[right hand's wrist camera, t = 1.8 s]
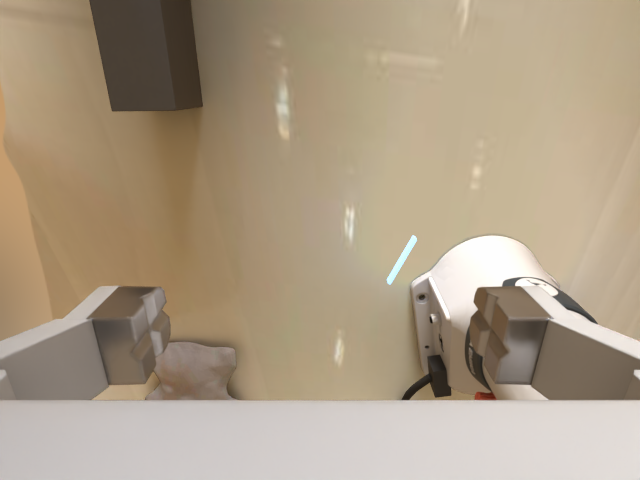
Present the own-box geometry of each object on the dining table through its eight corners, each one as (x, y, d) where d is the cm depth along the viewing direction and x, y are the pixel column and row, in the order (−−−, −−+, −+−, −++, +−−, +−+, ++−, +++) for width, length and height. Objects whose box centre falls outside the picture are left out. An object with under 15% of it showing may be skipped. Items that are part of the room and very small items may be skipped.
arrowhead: (232, 362, 48) (242, 522, 59) (241, 339, 53) (249, 491, 64) (123, 357, 49) (152, 517, 59) (142, 334, 54) (166, 486, 64)
